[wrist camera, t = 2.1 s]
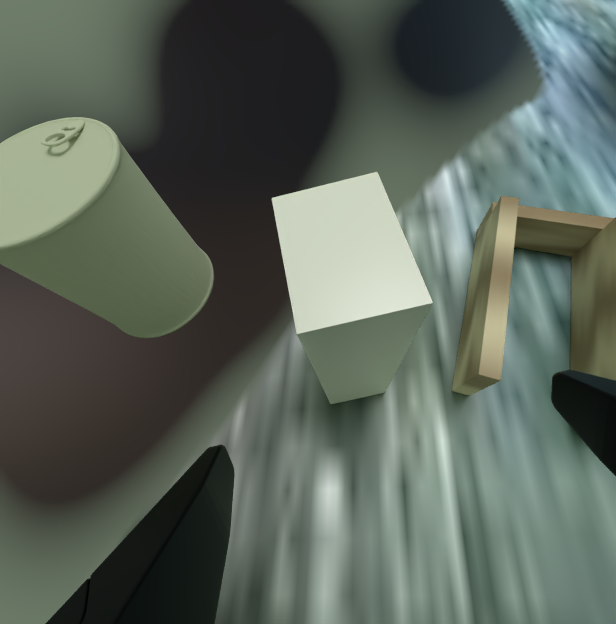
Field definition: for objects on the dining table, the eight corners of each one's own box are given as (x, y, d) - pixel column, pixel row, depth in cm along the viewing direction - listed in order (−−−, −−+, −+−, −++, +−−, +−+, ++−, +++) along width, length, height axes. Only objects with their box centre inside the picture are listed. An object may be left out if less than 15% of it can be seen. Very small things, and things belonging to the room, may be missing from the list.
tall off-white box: (385, 392, 19) (432, 303, 8) (330, 404, 20) (296, 334, 8) (364, 323, 22) (377, 171, 10) (315, 334, 22) (271, 198, 10)
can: (231, 253, 26) (145, 112, 15) (183, 351, 23) (27, 261, 12) (145, 235, 28) (18, 102, 17) (89, 322, 25) (-112, 224, 14)
